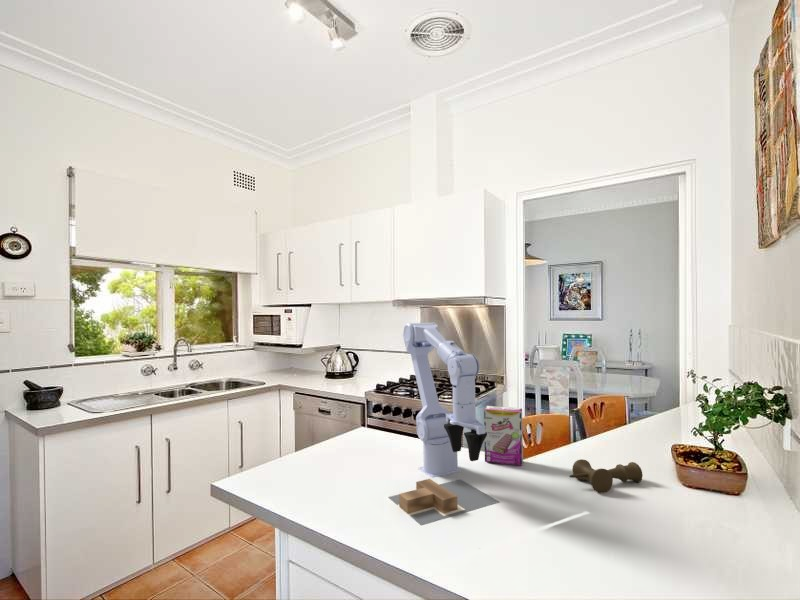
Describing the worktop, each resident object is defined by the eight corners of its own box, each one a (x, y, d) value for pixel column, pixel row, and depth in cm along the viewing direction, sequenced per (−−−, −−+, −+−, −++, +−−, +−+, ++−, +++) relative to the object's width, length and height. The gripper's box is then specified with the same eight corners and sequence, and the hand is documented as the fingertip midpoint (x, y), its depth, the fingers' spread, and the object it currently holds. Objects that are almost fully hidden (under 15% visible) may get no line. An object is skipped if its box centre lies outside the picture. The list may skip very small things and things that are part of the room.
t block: (429, 490, 108) (429, 478, 108) (457, 509, 97) (457, 496, 97) (391, 500, 103) (391, 487, 103) (416, 521, 92) (416, 507, 92)
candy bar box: (484, 463, 128) (483, 408, 128) (486, 457, 133) (485, 405, 133) (522, 466, 124) (521, 411, 125) (523, 461, 129) (522, 407, 130)
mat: (460, 481, 115) (460, 479, 115) (500, 504, 101) (500, 501, 101) (388, 499, 104) (388, 497, 104) (421, 527, 90) (421, 525, 90)
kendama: (651, 490, 108) (580, 495, 104) (624, 477, 117) (559, 481, 114) (650, 466, 108) (580, 470, 105) (624, 455, 118) (558, 458, 114)
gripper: (435, 398, 113) (436, 450, 112) (468, 409, 100) (469, 467, 99) (457, 395, 116) (458, 445, 115) (491, 406, 103) (493, 462, 102)
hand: (465, 455), depth 108 cm, fingers open, 7 cm apart
